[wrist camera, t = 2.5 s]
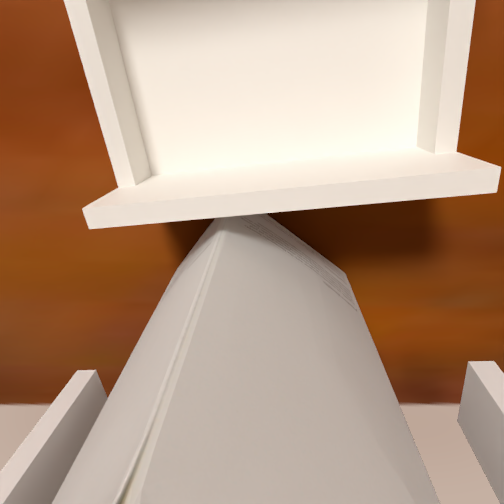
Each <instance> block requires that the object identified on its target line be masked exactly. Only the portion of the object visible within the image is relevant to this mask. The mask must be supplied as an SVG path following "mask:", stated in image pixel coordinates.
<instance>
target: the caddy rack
mask: <svg viewBox="0 0 504 504" xmlns="http://www.w3.org/2000/svg"><path fill="white" fill-rule="evenodd" d="M475 1H476V0H64V2H65V6H66V9H67V13H68V16H69V19H70V23H71V26H72V30H73V33H74V37H75V40H76V43H77V47H78V50H79V54H80V57H81V61H82V64H83V67H84V71H85V74H86V78H87V81H88V84H89V88H90V91H91V95H92V98H93V102H94V105H95V108H96V112H97V115H98V119H99V122H100V126H101V129H102V132H103V136H104V139H105V143H106V146H107V150H108V153H109V156H110V160H111V163H112V167H113V170H114V173H115V177H116V180H117V184H118V187H119V188H117V189H115V190H113V191H112V192H110V193H108V194H106V195H105V196H103V197H101V198H100V199H98V200H96V201H94V202H93V203H91V204H89V205H87V206H86V207H84V208H82V210H83V213H84V216H85V219H86V221H87V224H88V227H89V229H96V228H107V227H118V226H130V225H141V224H152V223H163V222H174V221H185V220H196V219H207V218H218V217H230V216H241V215H252V214H263V213H274V212H285V211H296V210H307V209H318V208H330V207H341V206H352V205H363V204H374V203H385V202H396V201H407V200H418V199H430V198H441V197H452V196H463V195H474V194H485V193H496V192H497V188H498V182H499V177H500V172H501V167H499V166H496V165H493V164H490V163H488V162H485V161H482V160H479V159H476V158H473V157H470V156H467V155H464V154H461V153H458V152H456V150H457V142H458V134H459V126H460V119H461V111H462V103H463V95H464V87H465V79H466V72H467V64H468V56H469V48H470V40H471V33H472V25H473V17H474V9H475Z"/></svg>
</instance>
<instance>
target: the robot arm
mask: <svg viewBox="0 0 504 504" xmlns="http://www.w3.org/2000/svg"><path fill="white" fill-rule="evenodd" d="M107 399H108V398H107V396H106V393H105V391H104V388H103V386H102V384H101V381H100V379H99V376H98V374H97V371H96V370H77V372H76V373H75V374H74V376H73V377H72V378H71V379H70V381H69V382H68V383H67V385H66V386H65V387H64V389H63V390H62V391H61V393H60V394H59V395H58V397H57V398H56V399H55V400H54V402H53V403H52V404H51V406H50V407H49V408H48V410H47V411H46V412H45V414H44V415H43V416H42V418H41V419H40V420H39V421H38V423H37V424H36V426H35V427H34V428H33V429H32V431H31V432H30V433H29V435H28V436H27V437H26V439H25V440H24V441H23V442H22V444H21V445H20V447H19V448H18V449H17V451H16V452H15V453H14V454H13V456H12V457H11V458H10V460H9V461H8V462H7V464H6V465H5V466H4V468H3V469H2V470H1V472H0V504H52V502H53V500H54V499H55V497H56V495H57V493H58V491H59V489H60V487H61V485H62V484H63V482H64V480H65V478H66V476H67V474H68V472H69V470H70V469H71V467H72V465H73V463H74V461H75V459H76V457H77V455H78V454H79V452H80V450H81V448H82V446H83V444H84V442H85V441H86V439H87V437H88V435H89V433H90V431H91V429H92V427H93V426H94V424H95V422H96V420H97V418H98V416H99V414H100V412H101V410H102V409H103V407H104V405H105V403H106V401H107ZM457 421H458V423H459V425H460V426H461V428H462V430H463V433H464V435H465V436H466V438H467V440H468V442H469V444H470V446H471V448H472V450H473V452H474V454H475V456H476V458H477V460H478V461H479V463H480V465H481V467H482V469H483V471H484V473H485V475H486V477H487V479H488V481H489V483H490V485H491V487H492V489H493V490H494V492H495V494H496V496H497V498H498V500H499V502H500V504H504V373H503V372H502V371H501V370H500V368H499V367H498V366H497V364H496V363H495V362H494V361H472V362H468V366H467V371H466V377H465V382H464V387H463V393H462V398H461V403H460V409H459V415H458V419H457Z"/></svg>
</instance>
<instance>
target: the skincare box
mask: <svg viewBox="0 0 504 504" xmlns="http://www.w3.org/2000/svg"><path fill="white" fill-rule="evenodd" d="M52 504H440V502H439V500H438V497H437V495H436V492H435V490H434V487H433V485H432V483H431V480H430V478H429V475H428V473H427V471H426V468H425V466H424V463H423V461H422V458H421V456H420V454H419V451H418V449H417V446H416V444H415V442H414V439H413V437H412V434H411V432H410V430H409V427H408V425H407V422H406V420H405V417H404V415H403V412H402V410H401V408H400V405H399V403H398V400H397V398H396V396H395V393H394V391H393V388H392V386H391V383H390V381H389V379H388V376H387V374H386V371H385V369H384V366H383V364H382V362H381V359H380V357H379V354H378V352H377V349H376V347H375V344H374V342H373V340H372V337H371V335H370V333H369V330H368V328H367V325H366V323H365V321H364V318H363V316H362V313H361V311H360V308H359V306H358V303H357V301H356V299H355V296H354V294H353V291H352V289H351V286H350V284H349V281H348V279H347V276H346V274H345V273H344V272H343V271H342V270H341V269H339V268H338V267H337V266H335V265H334V264H333V263H331V262H330V261H329V260H327V259H326V258H325V257H323V256H322V255H321V254H319V253H318V252H317V251H315V250H314V249H313V248H311V247H310V246H309V245H307V244H306V243H305V242H303V241H302V240H301V239H299V238H298V237H297V236H295V235H294V234H293V233H291V232H290V231H289V230H287V229H286V228H285V227H283V226H282V225H281V224H279V223H278V222H277V221H275V220H274V219H272V218H271V217H270V216H268V215H267V214H266V213H263V214H252V215H241V216H230V217H218V218H215V219H214V220H213V222H212V223H211V224H210V225H209V227H208V228H207V229H206V231H205V232H204V233H203V235H202V236H201V237H200V239H199V240H198V241H197V243H196V244H195V245H194V247H193V248H192V249H191V251H190V252H189V254H188V255H187V256H186V258H185V259H184V260H183V262H182V263H181V264H180V266H179V267H178V269H177V270H176V272H175V274H174V276H173V277H172V279H171V281H170V283H169V285H168V287H167V289H166V291H165V293H164V294H163V296H162V298H161V300H160V302H159V304H158V306H157V308H156V309H155V311H154V313H153V315H152V317H151V319H150V320H149V322H148V324H147V326H146V328H145V330H144V331H143V333H142V335H141V337H140V339H139V341H138V343H137V345H136V346H135V348H134V350H133V352H132V354H131V356H130V358H129V360H128V362H127V363H126V365H125V367H124V369H123V371H122V373H121V375H120V377H119V378H118V380H117V382H116V384H115V386H114V388H113V390H112V392H111V393H110V395H109V397H108V399H107V401H106V403H105V405H104V407H103V409H102V410H101V412H100V414H99V416H98V418H97V420H96V422H95V424H94V426H93V427H92V429H91V431H90V433H89V435H88V437H87V439H86V441H85V442H84V444H83V446H82V448H81V450H80V452H79V454H78V455H77V457H76V459H75V461H74V463H73V465H72V467H71V469H70V470H69V472H68V474H67V476H66V478H65V480H64V482H63V484H62V485H61V487H60V489H59V491H58V493H57V495H56V497H55V499H54V500H53V502H52Z"/></svg>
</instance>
